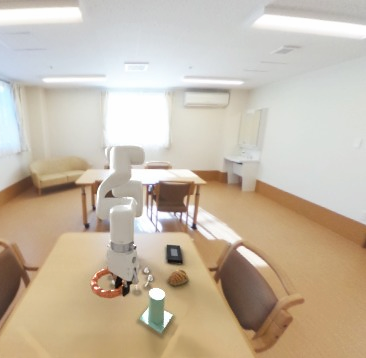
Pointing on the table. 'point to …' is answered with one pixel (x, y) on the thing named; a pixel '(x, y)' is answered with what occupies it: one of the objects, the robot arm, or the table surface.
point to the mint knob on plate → (156, 311)
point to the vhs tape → (174, 254)
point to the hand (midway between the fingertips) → (122, 291)
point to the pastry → (178, 277)
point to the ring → (100, 291)
